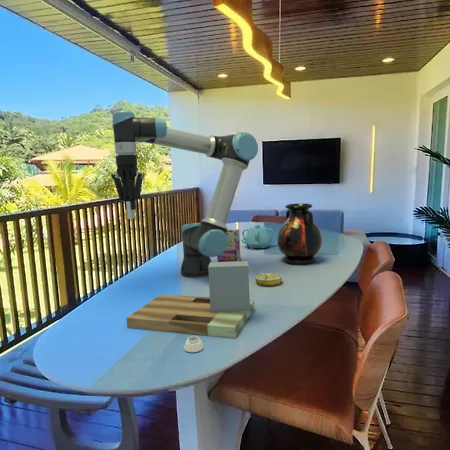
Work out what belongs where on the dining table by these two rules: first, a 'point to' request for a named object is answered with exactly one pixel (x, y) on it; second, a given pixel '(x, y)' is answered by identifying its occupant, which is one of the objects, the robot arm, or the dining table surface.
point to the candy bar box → (231, 247)
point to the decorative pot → (257, 237)
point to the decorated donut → (268, 279)
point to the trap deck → (188, 316)
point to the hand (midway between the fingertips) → (131, 218)
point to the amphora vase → (299, 235)
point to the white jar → (193, 344)
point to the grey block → (229, 286)
